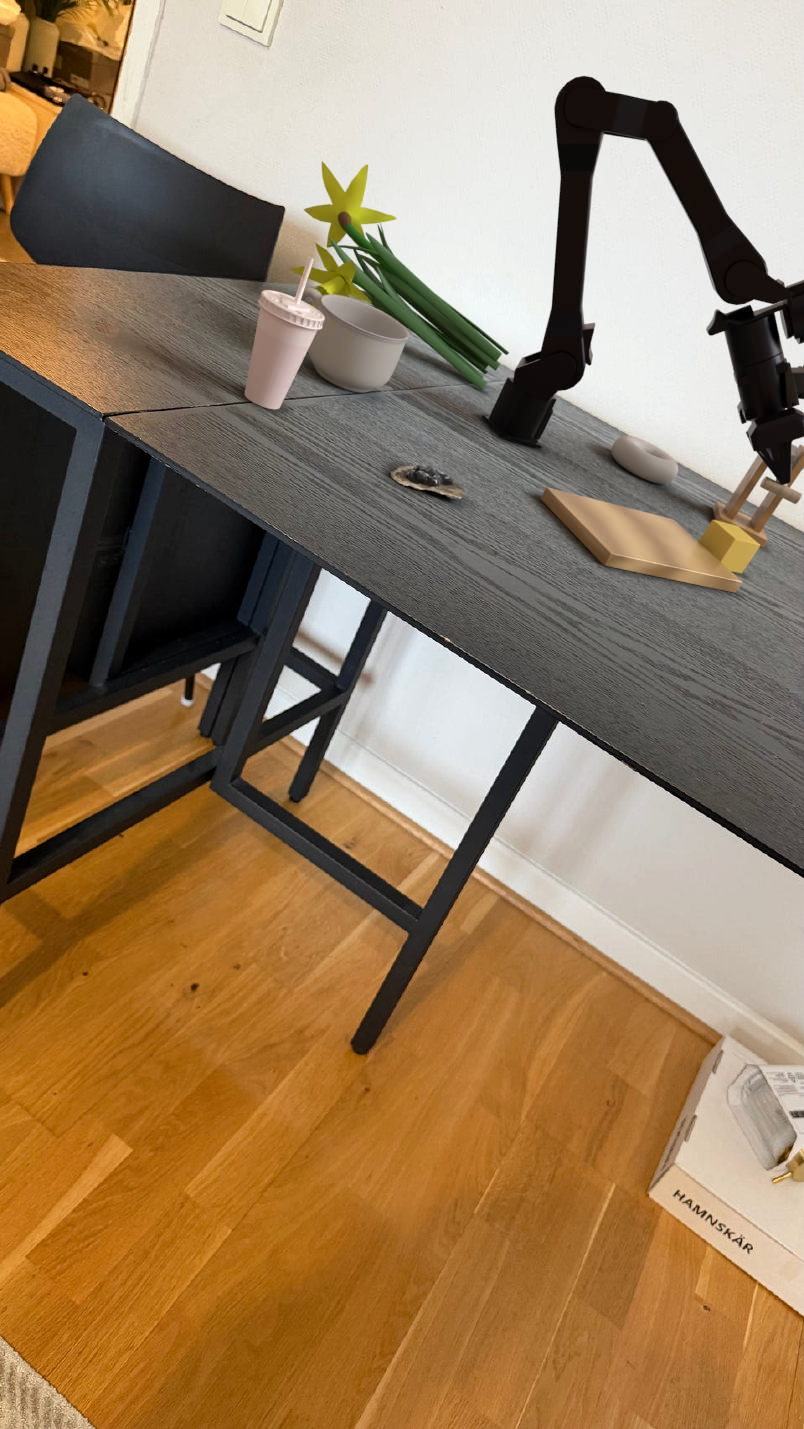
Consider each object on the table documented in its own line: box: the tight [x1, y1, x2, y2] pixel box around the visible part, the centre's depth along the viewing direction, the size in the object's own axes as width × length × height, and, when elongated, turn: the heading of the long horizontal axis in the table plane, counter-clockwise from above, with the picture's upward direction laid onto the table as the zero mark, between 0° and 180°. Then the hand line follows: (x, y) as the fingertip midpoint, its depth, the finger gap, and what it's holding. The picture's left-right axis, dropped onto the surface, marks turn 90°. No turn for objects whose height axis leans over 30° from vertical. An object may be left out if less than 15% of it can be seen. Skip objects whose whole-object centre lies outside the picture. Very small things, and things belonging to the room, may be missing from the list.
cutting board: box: [540, 486, 743, 594], centre depth 106 cm, size 20×14×2 cm
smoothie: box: [244, 256, 325, 410], centre depth 91 cm, size 6×6×14 cm
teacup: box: [301, 287, 410, 394], centre depth 110 cm, size 14×11×8 cm
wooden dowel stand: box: [712, 443, 804, 549], centre depth 128 cm, size 8×7×13 cm
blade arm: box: [759, 444, 803, 505], centre depth 122 cm, size 11×5×2 cm, turn 167°
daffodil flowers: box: [289, 161, 510, 392], centre depth 132 cm, size 17×15×35 cm
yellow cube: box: [698, 519, 761, 574], centre depth 113 cm, size 4×4×4 cm
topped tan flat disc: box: [390, 464, 466, 501], centre depth 93 cm, size 7×8×2 cm
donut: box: [611, 435, 679, 485], centre depth 134 cm, size 10×4×10 cm
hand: (785, 483), depth 119 cm, fingers closed, pressing on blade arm
